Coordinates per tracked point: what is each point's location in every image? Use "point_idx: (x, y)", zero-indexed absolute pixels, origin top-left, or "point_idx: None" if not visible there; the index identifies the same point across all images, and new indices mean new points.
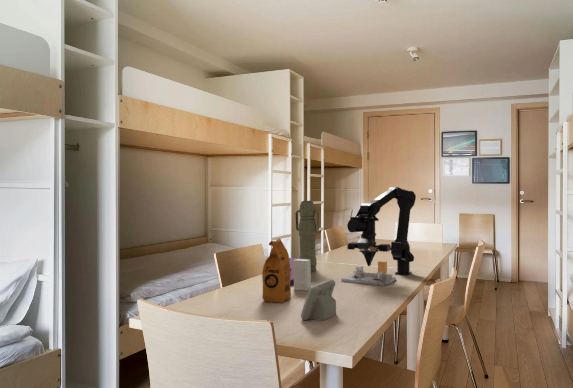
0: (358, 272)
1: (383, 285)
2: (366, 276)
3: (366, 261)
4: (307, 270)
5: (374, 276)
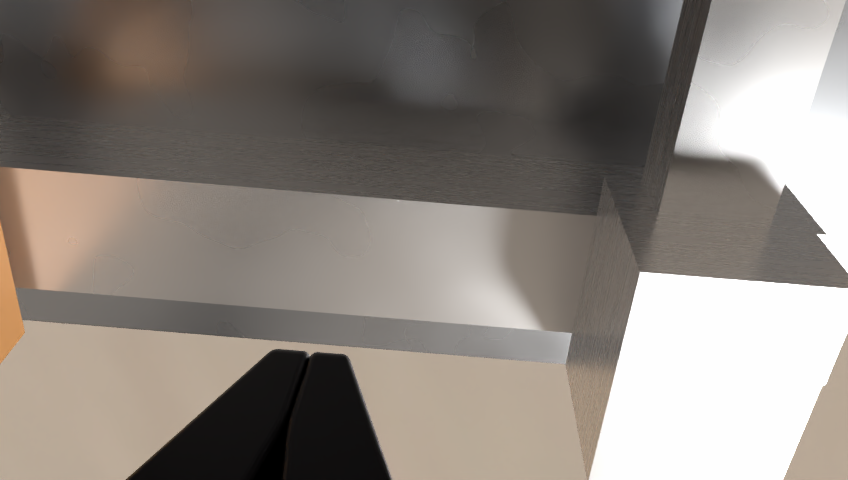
0: (664, 93)
1: None
2: (417, 147)
3: (370, 466)
4: None
5: (169, 135)
